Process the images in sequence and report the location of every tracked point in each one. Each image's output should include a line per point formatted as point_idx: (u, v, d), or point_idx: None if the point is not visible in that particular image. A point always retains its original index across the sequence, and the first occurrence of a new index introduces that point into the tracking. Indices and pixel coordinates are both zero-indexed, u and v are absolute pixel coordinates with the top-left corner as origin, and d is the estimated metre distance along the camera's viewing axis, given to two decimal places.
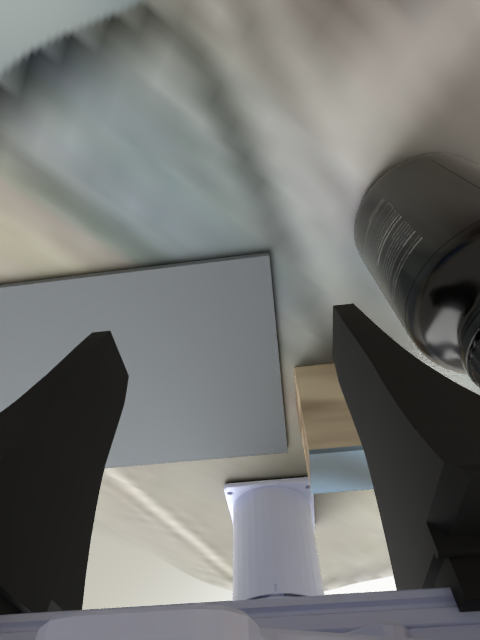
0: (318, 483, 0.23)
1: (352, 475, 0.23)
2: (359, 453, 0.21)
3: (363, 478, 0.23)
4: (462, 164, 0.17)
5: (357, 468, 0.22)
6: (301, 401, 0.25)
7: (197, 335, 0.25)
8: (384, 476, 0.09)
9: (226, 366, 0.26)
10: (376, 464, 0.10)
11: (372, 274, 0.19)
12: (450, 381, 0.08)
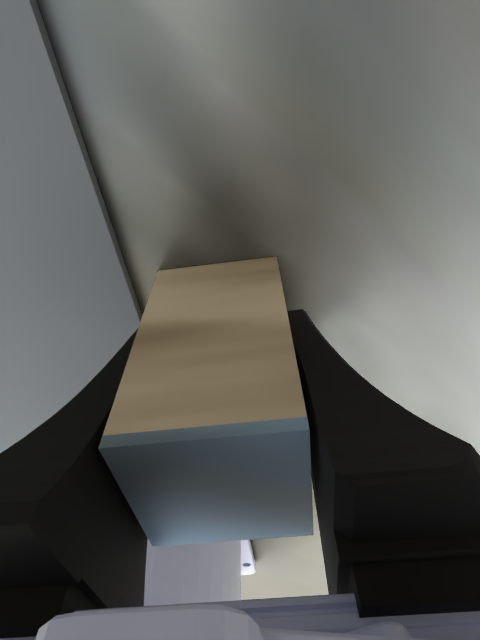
0: (160, 523, 0.09)
1: (240, 504, 0.09)
2: (242, 445, 0.07)
3: (271, 511, 0.09)
4: None
5: (248, 487, 0.08)
6: (141, 326, 0.11)
7: None
8: (316, 481, 0.09)
9: (6, 263, 0.12)
10: (313, 469, 0.10)
11: None
12: (373, 388, 0.08)
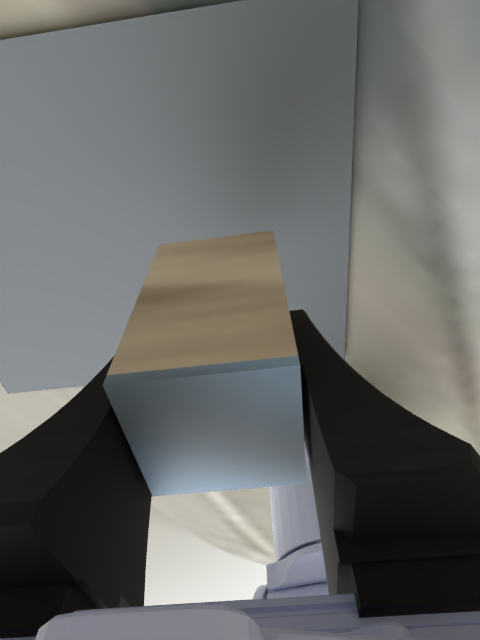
0: (159, 469, 0.10)
1: (236, 448, 0.09)
2: (237, 382, 0.08)
3: (266, 457, 0.09)
4: None
5: (244, 428, 0.09)
6: (143, 289, 0.11)
7: (237, 149, 0.17)
8: (316, 482, 0.09)
9: (275, 209, 0.19)
10: (313, 469, 0.10)
11: None
12: (373, 388, 0.08)
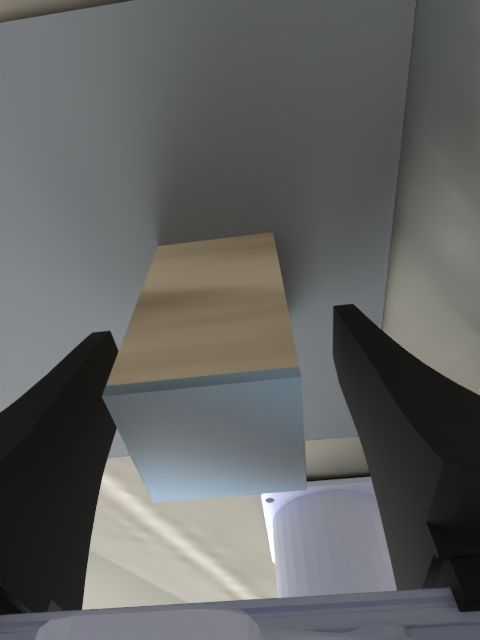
0: (159, 477, 0.10)
1: (237, 457, 0.09)
2: (238, 393, 0.08)
3: (266, 464, 0.09)
4: None
5: (244, 438, 0.09)
6: (142, 294, 0.11)
7: (238, 190, 0.12)
8: (384, 476, 0.09)
9: (288, 265, 0.14)
10: (376, 464, 0.10)
11: None
12: (450, 381, 0.08)
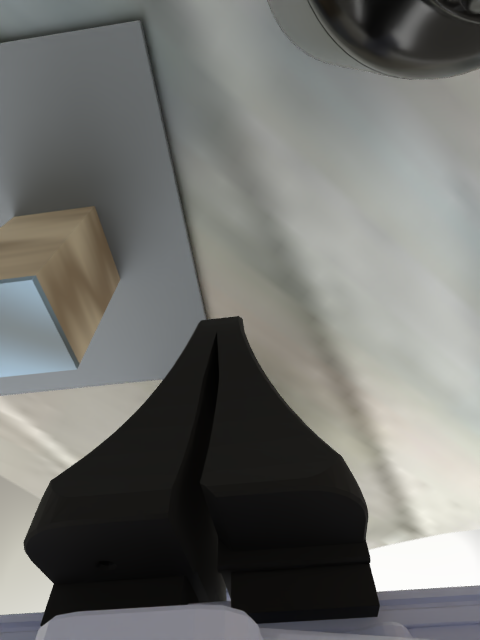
0: None
1: (19, 341, 0.14)
2: None
3: (41, 347, 0.14)
4: None
5: (17, 325, 0.14)
6: None
7: (61, 175, 0.18)
8: None
9: (112, 231, 0.19)
10: None
11: None
12: (277, 398, 0.08)
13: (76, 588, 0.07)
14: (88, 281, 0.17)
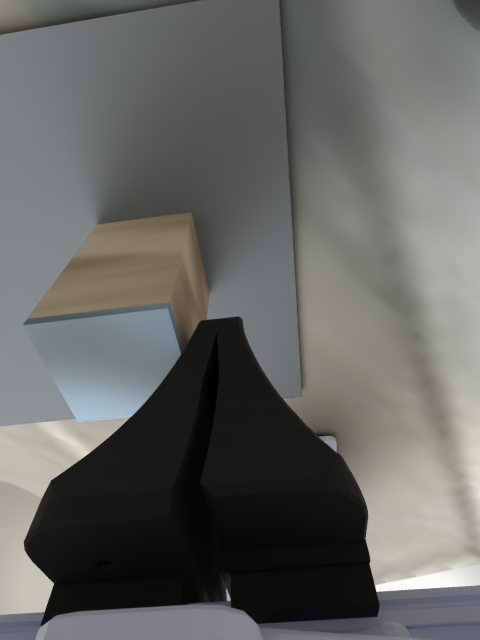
0: (78, 398, 0.12)
1: (135, 379, 0.12)
2: (123, 322, 0.10)
3: None
4: None
5: (137, 361, 0.11)
6: (73, 259, 0.14)
7: (158, 177, 0.15)
8: None
9: (208, 241, 0.17)
10: None
11: None
12: (276, 398, 0.08)
13: (76, 588, 0.07)
14: (195, 301, 0.14)
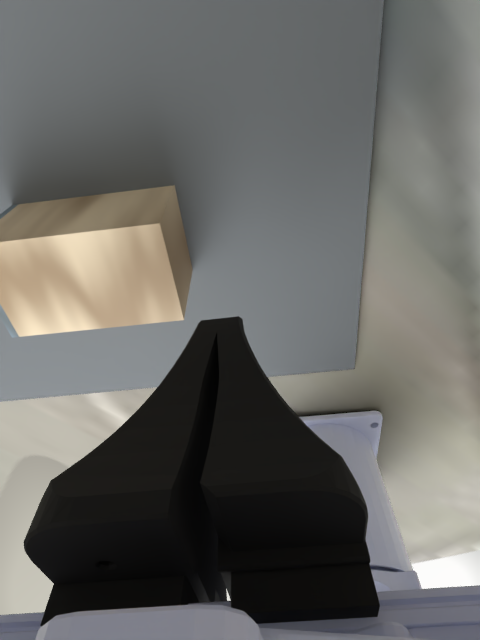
0: None
1: None
2: None
3: None
4: None
5: None
6: (99, 195, 0.16)
7: (242, 136, 0.15)
8: None
9: (283, 204, 0.17)
10: None
11: None
12: (277, 398, 0.08)
13: (76, 588, 0.07)
14: (82, 289, 0.14)
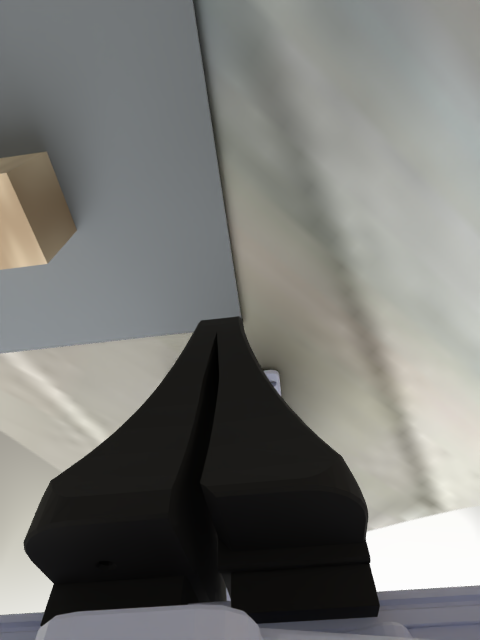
0: None
1: None
2: None
3: None
4: None
5: None
6: None
7: (97, 106, 0.18)
8: None
9: (144, 168, 0.19)
10: None
11: None
12: (277, 398, 0.08)
13: (76, 588, 0.07)
14: None
